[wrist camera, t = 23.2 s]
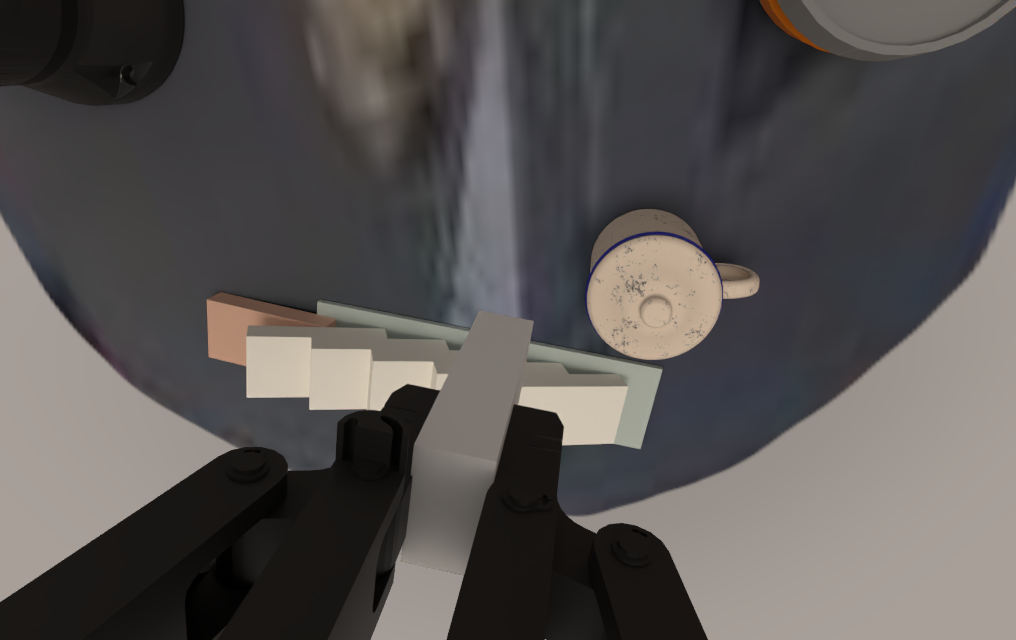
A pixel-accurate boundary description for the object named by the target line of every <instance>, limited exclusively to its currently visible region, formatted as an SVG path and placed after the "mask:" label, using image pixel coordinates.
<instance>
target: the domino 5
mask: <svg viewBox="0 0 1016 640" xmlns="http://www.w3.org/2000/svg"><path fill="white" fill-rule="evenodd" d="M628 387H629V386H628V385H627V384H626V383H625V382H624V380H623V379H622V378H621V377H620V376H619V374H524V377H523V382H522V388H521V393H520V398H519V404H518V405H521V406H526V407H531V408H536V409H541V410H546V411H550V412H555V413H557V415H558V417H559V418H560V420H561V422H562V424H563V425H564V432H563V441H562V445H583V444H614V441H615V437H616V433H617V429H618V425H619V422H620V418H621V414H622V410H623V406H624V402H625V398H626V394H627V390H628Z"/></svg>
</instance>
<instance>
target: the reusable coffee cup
mask: <svg viewBox="0 0 1016 640" xmlns="http://www.w3.org/2000/svg"><path fill="white" fill-rule="evenodd" d="M759 1H760V3H761V5H762V6H763V8H764V10H765V11H766V13H767V14H768V15H769V17H770V18H771V19H772V20H773V22H774V23H775V24H776V25H777V26H778V27H780V28H781V29H782V30H783V31H785V32H786V33H787V34H788V35H790V36H792V37H794V38H796V39H798V40H800V41H802V42H804V43H806V44H808V45H811V46H813V47H815V48H817V49H819V50H821V51H825V52H829V53H833V54H835V55H838V56H842V57H846V58H850V59H855V60H859V61H890V60H896V59H902V58H908V57H913V56H917V55H921V54H925V53H929V52H933V51H936V50H939V49H942V48H945V47H948V46H950V45H953V44H956V43H959V42H962V41H964V40H966V39H968V38H970V37H971V36H973V35H975V34H977V33H979V32H980V31H982V30H984V29H986V28H988V27H989V26H991V25H993V24H994V23H995V22H996V21H998V20H999V19H1000V18H1002V17H1003V16H1004V15H1005V14H1007V13H1008V12H1009V11H1011V10H1012V9H1013V8H1014V7H1016V0H759Z"/></svg>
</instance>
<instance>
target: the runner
mask: <svg viewBox="0 0 1016 640" xmlns="http://www.w3.org/2000/svg"><path fill="white" fill-rule="evenodd" d="M317 314H318V315H322V316H327V317H331V318H335V319H336V327H339V328H383V329H385V330H386V334H387V339H436V340H445V341H446V343H447V346H448V348H449V350H460V349H461V347H462V345H463V343H464V341H465V339H466V337H467V335H468V333H469V331H470V329H469V328H464V327H459V326H454V325H449V324H444V323H439V322H433V321H428V320H423V319H418V318H413V317H408V316H403V315H398V314H393V313H388V312H383V311H377V310H372V309H367V308H362V307H357V306H352V305H347V304H342V303H337V302H332V301H327V300H321V299H320V300H319V301H318V302H317ZM526 362H540V363H562V365H563V366H564V368H565V369H566V370H567V372H568V373H569V374H619V376H620V377H621V378H622V379H623V380H624V382H625V383H626V384H627V385H628V386H629V387H628V390H627V394H626V398H625V402H624V406H623V410H622V414H621V418H620V422H619V425H618V429H617V433H616V437H615V441H614V444H618V445H623V446H628V447H633V448H637V449H641V445H642V441H643V438H644V434H645V431H646V427H647V423H648V420H649V416H650V413H651V409H652V405H653V402H654V398H655V395H656V391H657V387H658V384H659V380H660V377H661V373H662V366H657V365H652V364H647V363H642V362H637V361H632V360H627V359H622V358H617V357H611V356H606V355H601V354H596V353H591V352H586V351H581V350H576V349H571V348H566V347H561V346H556V345H550V344H545V343H540V342H535V341H530V344H529V350H528V355H527V360H526Z"/></svg>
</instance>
